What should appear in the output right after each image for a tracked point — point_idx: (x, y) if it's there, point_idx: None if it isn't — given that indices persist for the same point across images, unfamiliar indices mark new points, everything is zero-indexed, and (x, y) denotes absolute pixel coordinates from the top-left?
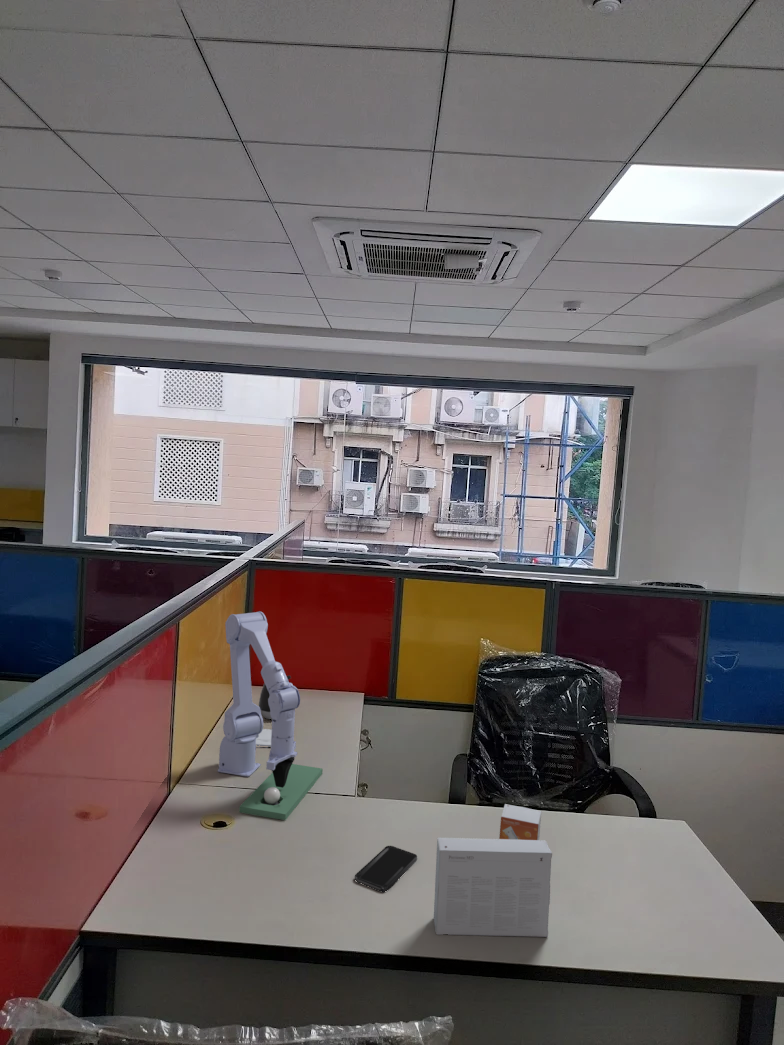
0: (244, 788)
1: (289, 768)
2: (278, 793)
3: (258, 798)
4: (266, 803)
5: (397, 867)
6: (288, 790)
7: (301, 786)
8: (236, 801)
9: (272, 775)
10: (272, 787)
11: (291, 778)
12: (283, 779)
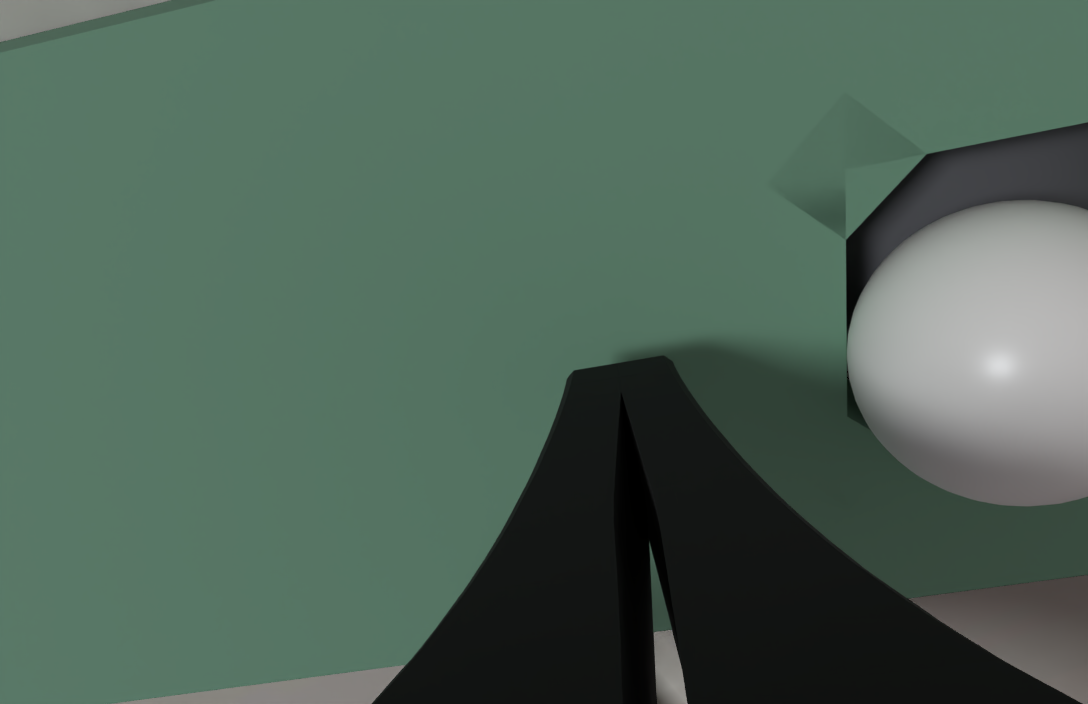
0: (658, 694)
1: (524, 611)
2: (1079, 266)
3: None
4: None
5: None
6: (568, 256)
7: (277, 138)
8: (977, 620)
9: (304, 653)
10: (1074, 458)
11: (173, 439)
12: (731, 458)
